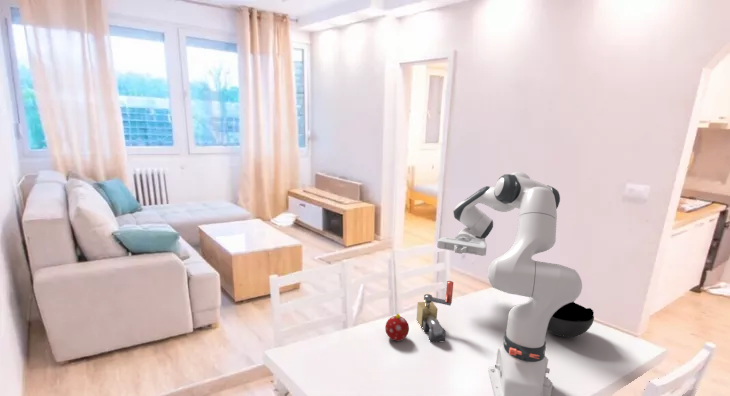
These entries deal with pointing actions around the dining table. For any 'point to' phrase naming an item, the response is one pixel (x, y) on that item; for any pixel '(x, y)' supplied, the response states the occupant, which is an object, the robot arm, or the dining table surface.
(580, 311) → the bowl of black rocks
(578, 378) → the dining table surface
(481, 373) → the dining table surface
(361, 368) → the dining table surface
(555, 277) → the robot arm
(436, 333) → the valve
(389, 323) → the christmas ornament
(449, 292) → the lever
